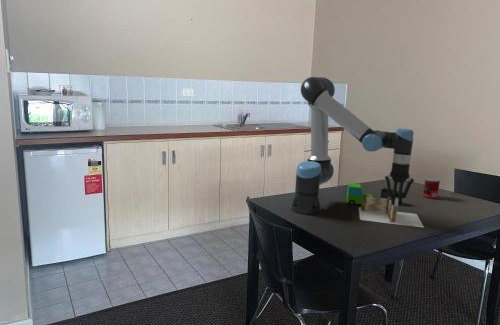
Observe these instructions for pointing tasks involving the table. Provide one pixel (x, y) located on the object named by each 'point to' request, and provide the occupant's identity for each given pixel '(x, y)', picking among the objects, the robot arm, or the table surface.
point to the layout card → (384, 217)
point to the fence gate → (392, 211)
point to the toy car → (355, 194)
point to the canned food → (431, 188)
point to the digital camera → (385, 193)
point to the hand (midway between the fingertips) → (394, 211)
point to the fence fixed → (375, 203)
